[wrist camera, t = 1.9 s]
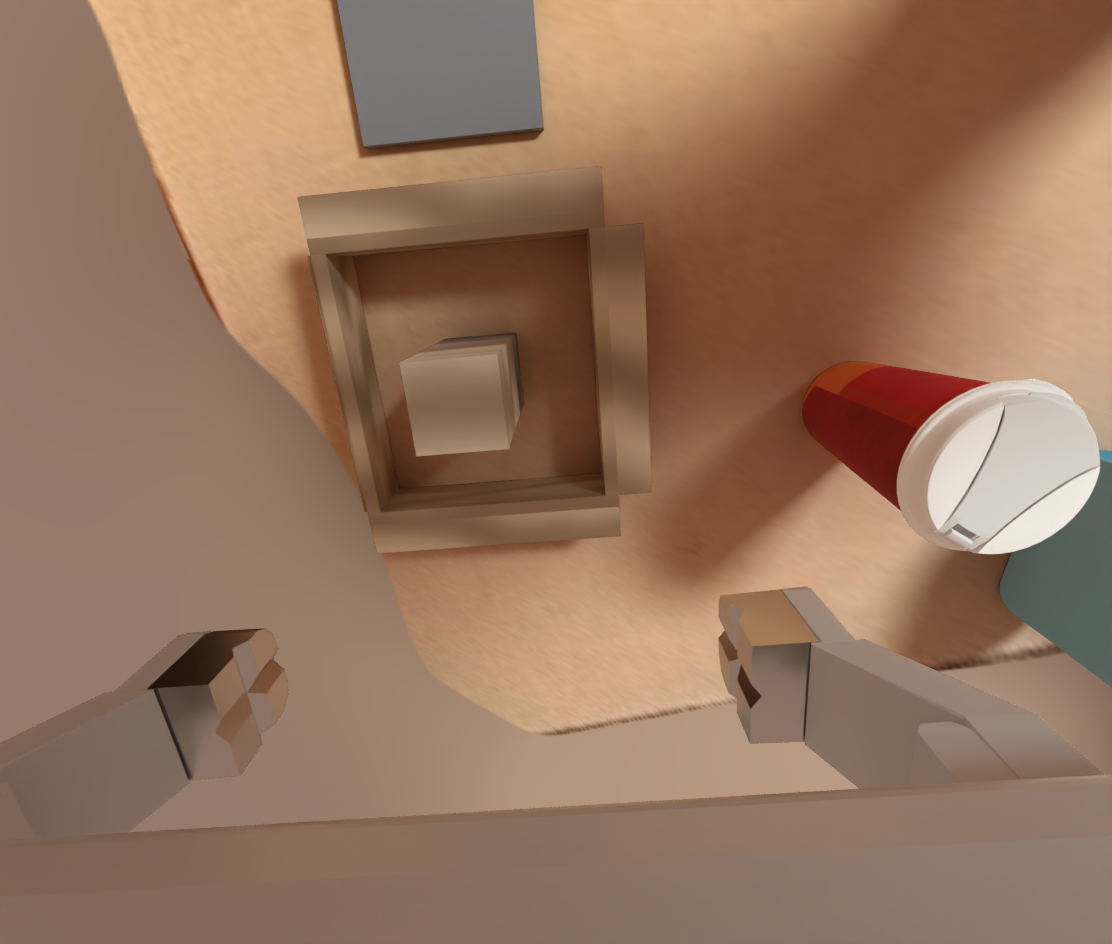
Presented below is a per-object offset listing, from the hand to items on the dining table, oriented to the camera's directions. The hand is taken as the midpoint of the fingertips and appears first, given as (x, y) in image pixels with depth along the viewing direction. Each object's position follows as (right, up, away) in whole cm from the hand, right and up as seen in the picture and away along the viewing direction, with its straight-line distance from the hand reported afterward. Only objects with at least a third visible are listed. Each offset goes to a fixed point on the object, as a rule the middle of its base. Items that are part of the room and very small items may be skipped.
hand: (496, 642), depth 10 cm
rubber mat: (-5, +28, +18) cm, 34 cm away
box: (-3, +10, +25) cm, 27 cm away
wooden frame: (-3, +10, +25) cm, 27 cm away
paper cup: (+20, +8, +25) cm, 33 cm away
